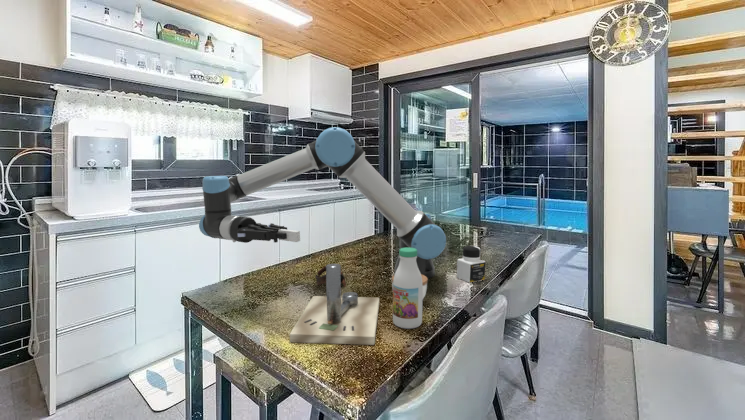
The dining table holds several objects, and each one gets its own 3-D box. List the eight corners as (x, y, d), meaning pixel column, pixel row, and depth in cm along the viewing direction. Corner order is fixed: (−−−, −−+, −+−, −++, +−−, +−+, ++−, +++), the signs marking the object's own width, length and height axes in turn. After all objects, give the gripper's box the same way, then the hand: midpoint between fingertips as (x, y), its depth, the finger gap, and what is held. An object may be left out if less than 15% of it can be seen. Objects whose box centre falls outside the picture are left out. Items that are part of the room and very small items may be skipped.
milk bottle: (401, 314, 99) (402, 244, 96) (427, 321, 95) (428, 248, 92) (387, 324, 93) (387, 250, 90) (413, 332, 89) (414, 254, 86)
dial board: (379, 304, 106) (379, 296, 106) (374, 344, 83) (374, 335, 82) (313, 302, 108) (313, 295, 107) (289, 342, 84) (289, 333, 84)
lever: (345, 299, 103) (345, 252, 101) (360, 300, 102) (359, 253, 100) (321, 322, 88) (320, 268, 86) (337, 325, 87) (336, 269, 85)
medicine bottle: (470, 283, 124) (471, 250, 122) (456, 277, 130) (457, 245, 129) (485, 280, 127) (486, 247, 126) (471, 274, 134) (472, 243, 132)
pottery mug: (346, 291, 118) (334, 272, 115) (322, 302, 120) (309, 283, 117) (350, 272, 129) (339, 254, 126) (327, 281, 131) (316, 264, 128)
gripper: (257, 237, 112) (315, 245, 99) (221, 245, 101) (280, 256, 89) (256, 213, 111) (313, 218, 98) (219, 219, 100) (278, 226, 88)
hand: (297, 236), depth 94 cm, fingers closed
